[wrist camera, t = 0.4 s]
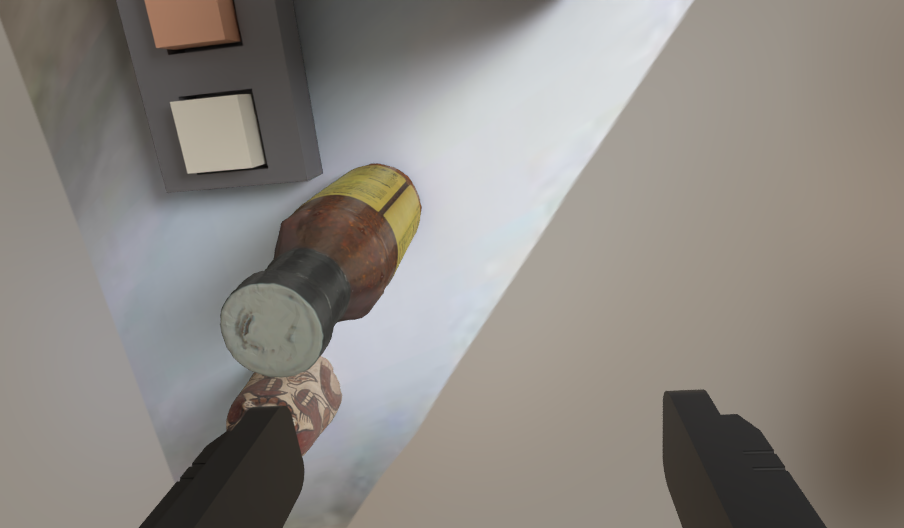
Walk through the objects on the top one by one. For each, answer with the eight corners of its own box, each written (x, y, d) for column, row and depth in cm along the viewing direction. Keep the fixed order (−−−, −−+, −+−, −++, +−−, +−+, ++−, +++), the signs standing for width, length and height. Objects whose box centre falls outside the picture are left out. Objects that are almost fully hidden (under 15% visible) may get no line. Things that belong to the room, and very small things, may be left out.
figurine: (357, 374, 43) (301, 478, 32) (322, 438, 46) (259, 556, 34) (276, 332, 43) (191, 422, 32) (246, 399, 45) (156, 505, 34)
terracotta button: (157, -28, 33) (135, -35, 31) (225, -38, 32) (207, -46, 30) (176, 49, 34) (156, 47, 32) (241, 41, 34) (225, 39, 32)
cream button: (188, 100, 35) (169, 101, 33) (252, 93, 35) (236, 94, 33) (204, 169, 37) (187, 173, 35) (266, 163, 36) (252, 167, 34)
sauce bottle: (321, 197, 39) (140, 304, 20) (385, 142, 37) (253, 203, 18) (380, 266, 40) (262, 429, 21) (446, 216, 38) (379, 345, 20)
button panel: (102, -176, 33) (63, -200, 30) (257, -205, 32) (231, -233, 29) (191, 184, 40) (166, 192, 37) (322, 173, 38) (307, 180, 35)
